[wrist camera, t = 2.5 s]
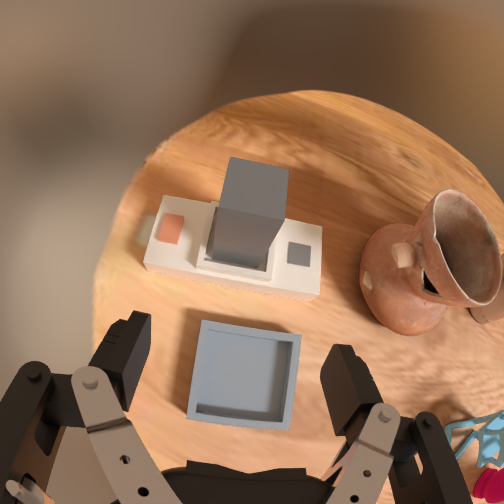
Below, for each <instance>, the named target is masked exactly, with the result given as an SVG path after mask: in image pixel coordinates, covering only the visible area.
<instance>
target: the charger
mask: <svg viewBox="0 0 504 504" xmlns="http://www.w3.org/2000/svg"><path fill="white" fill-rule="evenodd" d="M288 178H289V169H285V168H280V167H276V166H272V165H267V164H263V163H258V162H254V161H249V160H244V159H239V158H234V157H230V160H229V164H228V168H227V172H226V176H225V181H224V185H223V189H222V193H221V198H220V202H219V206H218V213H217V221H216V229H215V238H214V246H213V255H212V259H213V260H218V261H223V262H229V263H234V264H239V265H245V266H250V267H255V268H258V266H259V265H260V263H261V261H262V260H263V258H264V256H265V254H266V253H267V251H268V249H269V247H270V246H271V244H272V242H273V240H274V239H275V237H276V235H277V233H278V232H279V230H280V228H281V226H282V225H283V223H284V221H285V213H286V202H287V191H288Z"/></svg>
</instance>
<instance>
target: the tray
mask: <svg viewBox="0 0 504 504" xmlns="http://www.w3.org/2000/svg"><path fill="white" fill-rule="evenodd" d="M300 345H301V335H299V334H291V333H284V332H276V331H269V330H262V329H256V328H249V327H243V326H237V325H231V324H225V323H220V322H214V321H209V320H203V319H202V322H201V327H200V333H199V339H198V345H197V351H196V357H195V363H194V369H193V376H192V382H191V389H190V395H189V402H188V409H187V416H186V419H189V420H195V421H201V422H207V423H214V424H221V425H229V426H237V427H247V428H259V429H274V430H289V429H290V422H291V416H292V409H293V402H294V394H295V387H296V379H297V371H298V363H299V354H300Z"/></svg>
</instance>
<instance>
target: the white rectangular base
mask: <svg viewBox="0 0 504 504" xmlns="http://www.w3.org/2000/svg"><path fill="white" fill-rule="evenodd" d="M218 206H219V202H217V201H212V200H211V203H208V202H202V201H197V200H192V199H186V198H180V197H175V196H169V195H163V198H162V201H161V204H160V207H159V210H158V213H157V216H156V220H155V223H154V226H153V229H152V232H151V236H150V239H149V243H148V246H147V249H146V253H145V256H144V260H143V263H144V265H145V267H146V269H147V271H148V272H152V273H157V274H161V275H166V276H171V277H176V278H181V279H186V280H191V281H196V282H201V283H206V284H211V285H216V286H222V287H227V288H233V289H238V290H244V291H249V292H255V293H261V294H267V295H273V296H279V297H285V298H291V299H297V300H303V301H311V300H312V299H314V298H315V297H317V296H319V293H320V275H321V254H322V226H318V225H314V224H309V223H305V222H300V221H296V220H291V219H287V218H285V221H284V223H283V225H282V226H281V228H280V230H279V232H278V233H277V235H276V237H275V239H274V240H273V242H272V244H271V246H270V247H269V249H268V251H267V253H266V254H265V256H264V258H263V260H262V261H261V263H260V265H259V266H258V268H255V267H250V266H245V265H239V264H234V263H229V262H223V261H218V260H213V259H212V255H213V246H214V238H215V229H216V221H217V213H218Z"/></svg>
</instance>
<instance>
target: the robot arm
mask: <svg viewBox="0 0 504 504" xmlns="http://www.w3.org/2000/svg"><path fill="white" fill-rule="evenodd" d="M501 261H502V279H501V284H500V288H499V290H498V293H497V295H496V297H495V298H494V299H493V301H492V302H491V303H489V304H487V305H484V306H479V307H469V309H470V312H471V314H472V316H473V317H474V319H475V320H476V321H477V322H478V323H481V324H486V323H489V322H492V321H495V320H498V319H502V318H504V254H502V255H501ZM150 345H151V314H148V313H144V312H139V311H135V310H134V311H133V312H132V314H131V315H130V317H129V319H128V321H126V320H122V319H119V320H118V321H116V322H115V323H114V324H112V325H111V326H110V328H109V330H108V331H107V334H106V335H105V337H104V338H103V341H102V342H101V343H100V345H99V347H98V349H97V350H96V352H95V354H94V356H93V357H92V359H91V361H90V363H89V365H88V366H86V367H82V368H80V369H78V370H77V371H75V372H74V374H71V375H66V374H54V373H51V371H50V369H49V368H48V366H47V365H45V364H44V363H42V362H39V361H31V362H28V363H26V364H24V365H23V366H22V367H21V368H20V369H19V371H18V373H17V374H16V376H15V377H14V379H13V381H12V383H11V384H10V386H9V388H8V389H7V391H6V393H5V395H4V397H3V398H2V400H1V402H0V504H55V503H54V501H53V500H52V498H51V497H50V496H49V495H48V494H47V493H46V488H47V485H48V481H49V477H50V474H51V470H52V468H53V464H54V461H55V458H56V454H57V452H58V449H59V446H60V443H61V440H62V437H63V434H64V432H65V429H66V426H69V427H81V428H86V429H87V433H88V435H89V438H90V441H91V443H92V445H93V448H94V450H95V452H96V455H97V457H98V459H99V462H100V464H101V466H102V468H103V470H104V472H105V474H106V476H107V478H108V480H109V483H110V484H111V486H112V488H113V490H114V492H115V494H116V496H117V498H118V499H117V500H115V501H114V502H112V503H111V504H376V501H377V499H378V497H379V495H380V492H381V490H382V488H383V485H384V483H385V480H386V478H387V475H388V477H389V480H390V484H391V488H392V492H393V496H394V500H395V504H473V502H472V499H471V497H470V494H469V491H468V488H467V485H466V483H465V480H464V478H463V475H462V472H461V470H460V467H459V465H458V462H457V460H456V458H455V455H454V453H453V450H452V448H451V446H450V443H449V441H448V439H447V437H446V434H445V432H444V430H443V428H442V426H441V424H440V421H439V420H438V418H437V417H436V416H435V415H434V414H432V413H430V412H420V413H419V414H418V415H417V416H416V417H415V418H414V419H413V418H407V417H402V416H400V415H399V413H398V411H397V410H396V409H395V408H394V407H393V406H391V405H389V404H386V403H384V402H383V400H382V397H381V395H380V393H379V391H378V388H377V386H376V384H375V382H374V381H373V377H372V375H371V374H370V371H369V369H368V367H367V365H366V363H365V362H364V361H363V360H362V359H361V358H360V357H359V356H356V355H355V352H354V350H353V348H352V346H351V345H343V344H334V345H333V346H332V348H331V350H330V352H329V354H328V356H327V358H326V360H325V362H324V364H323V366H322V368H321V372H320V380H321V384H322V388H323V391H324V395H325V399H326V402H327V406H328V410H329V413H330V417H331V421H332V425H333V428H334V432H335V436H345V437H346V440H345V442H344V443H343V445H342V446H341V448H340V450H339V452H338V453H337V455H336V457H335V458H334V460H333V462H332V463H331V465H330V467H329V468H328V470H327V471H326V473H325V474H324V475H323V477H322V478H321V479H318V478H315V477H312V476H309V475H307V474H306V468H278V469H273V470H268V471H262V472H257V473H250V474H248V473H243V472H240V471H236V470H233V469H230V468H227V467H223V466H220V465H217V464H209V463H202V462H195V461H189V460H187V465H186V467H177V468H171V469H167V470H164V471H161V472H160V471H159V469H158V468H157V466H156V464H155V463H154V461H153V459H152V458H151V456H150V454H149V453H148V451H147V449H146V448H145V446H144V444H143V442H142V441H141V439H140V437H139V435H138V433H137V431H136V430H135V428H134V426H133V424H132V422H131V421H130V420H128V419H127V418H126V416H125V414H124V412H123V411H126V412H128V411H129V408H130V405H131V402H132V399H133V396H134V393H135V390H136V387H137V385H138V382H139V379H140V376H141V373H142V371H143V368H144V365H145V363H146V360H147V357H148V354H149V351H150ZM417 453H418V454H419V457H420V460H421V462H422V465H423V472H422V474H421V475H420V472H419V469H418V466H417V463H416V460H415V457H414V456H415V455H416V454H417Z"/></svg>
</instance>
